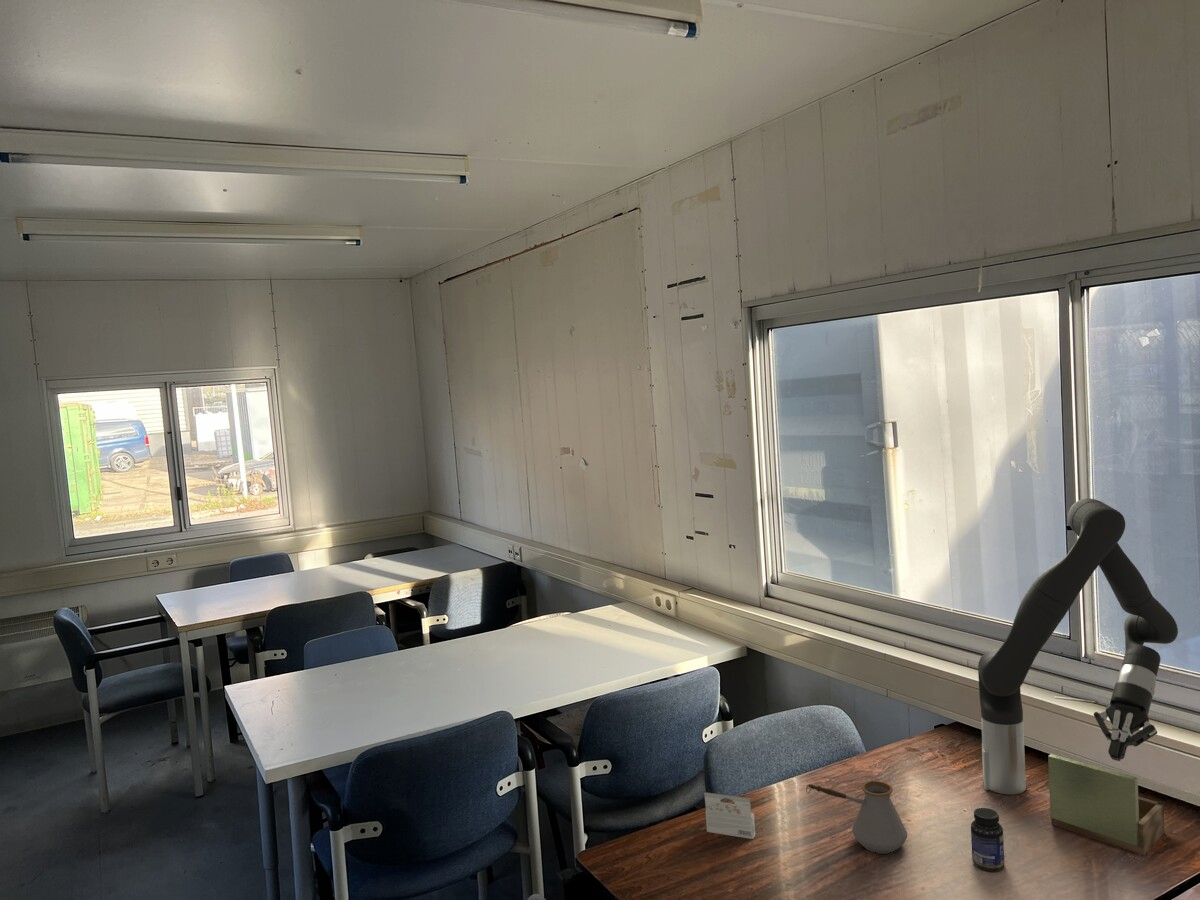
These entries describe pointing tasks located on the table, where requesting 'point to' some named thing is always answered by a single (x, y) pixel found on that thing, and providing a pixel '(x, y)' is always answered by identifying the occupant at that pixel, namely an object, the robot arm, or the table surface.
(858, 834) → the coffee pot
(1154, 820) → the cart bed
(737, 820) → the ink cartridge box
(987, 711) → the robot arm
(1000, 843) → the pill bottle
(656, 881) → the table surface
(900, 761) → the table surface
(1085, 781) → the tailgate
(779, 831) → the table surface
